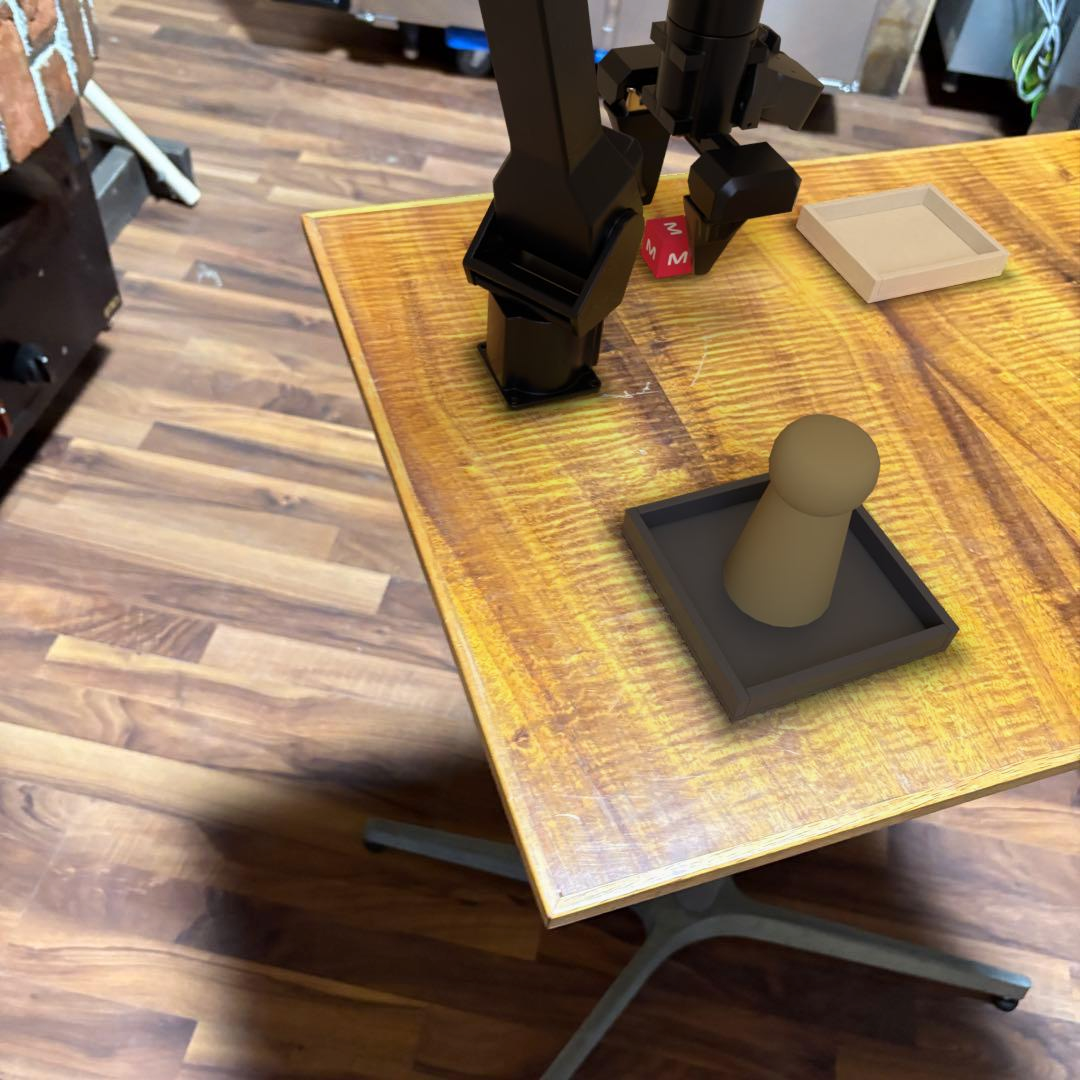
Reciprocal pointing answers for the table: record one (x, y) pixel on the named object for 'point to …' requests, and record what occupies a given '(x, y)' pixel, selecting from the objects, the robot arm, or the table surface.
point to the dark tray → (772, 651)
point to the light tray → (901, 242)
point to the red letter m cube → (666, 246)
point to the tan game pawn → (801, 521)
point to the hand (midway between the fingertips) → (671, 237)
